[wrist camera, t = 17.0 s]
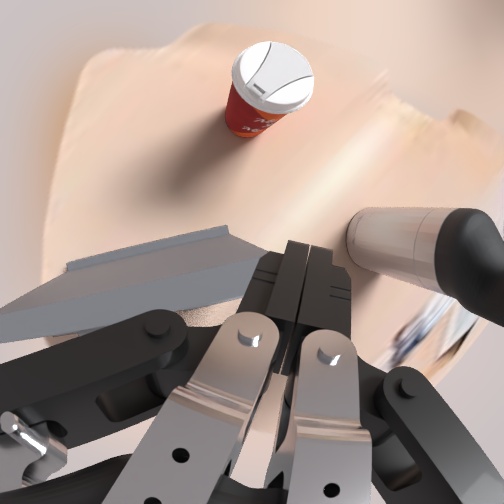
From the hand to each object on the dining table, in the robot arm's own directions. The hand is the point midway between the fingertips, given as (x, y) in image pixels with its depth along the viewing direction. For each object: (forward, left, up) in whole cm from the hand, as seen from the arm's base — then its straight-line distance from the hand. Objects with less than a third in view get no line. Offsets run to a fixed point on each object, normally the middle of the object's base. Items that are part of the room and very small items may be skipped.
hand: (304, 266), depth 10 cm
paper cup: (+1, -15, -27) cm, 31 cm away
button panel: (+7, +7, -27) cm, 29 cm away
